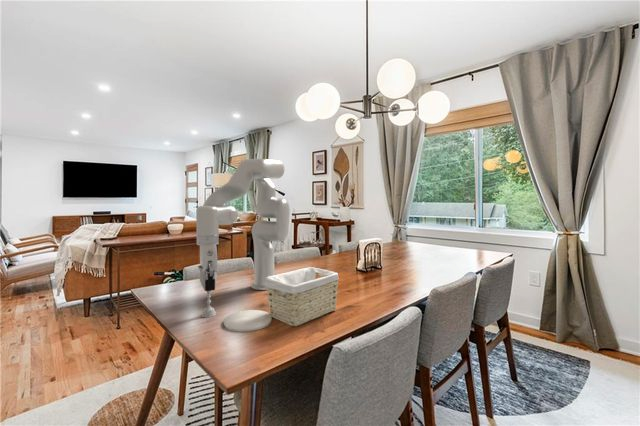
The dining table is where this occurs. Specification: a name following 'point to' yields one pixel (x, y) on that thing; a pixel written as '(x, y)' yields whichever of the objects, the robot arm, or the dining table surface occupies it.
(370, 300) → the dining table surface
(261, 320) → the plate
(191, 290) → the dining table surface
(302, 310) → the storage basket
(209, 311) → the chalice
